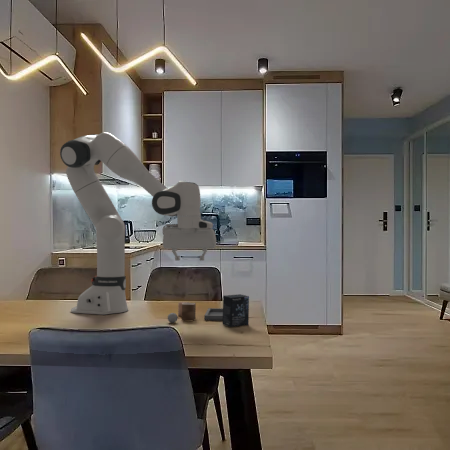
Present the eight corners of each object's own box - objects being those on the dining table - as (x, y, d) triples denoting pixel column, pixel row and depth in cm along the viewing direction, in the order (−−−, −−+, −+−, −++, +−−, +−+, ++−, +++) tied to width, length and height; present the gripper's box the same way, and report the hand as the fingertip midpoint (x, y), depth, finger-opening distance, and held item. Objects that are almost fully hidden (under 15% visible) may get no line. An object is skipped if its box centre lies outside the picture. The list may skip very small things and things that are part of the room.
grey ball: (166, 323, 187) (166, 313, 187) (168, 321, 190) (168, 311, 190) (176, 323, 186) (176, 313, 186) (178, 321, 190) (178, 312, 190)
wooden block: (177, 316, 201) (177, 303, 201) (179, 314, 206) (179, 301, 205) (188, 316, 201) (188, 303, 201) (190, 314, 205) (190, 301, 205)
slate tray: (204, 320, 194) (204, 315, 194) (208, 312, 210) (208, 308, 210) (241, 321, 193) (241, 316, 193) (243, 313, 209) (243, 308, 209)
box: (231, 327, 181) (231, 297, 181) (222, 324, 186) (222, 295, 186) (249, 325, 186) (249, 295, 186) (240, 322, 190) (240, 293, 190)
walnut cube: (181, 320, 193) (182, 304, 193) (183, 318, 197) (183, 302, 197) (193, 320, 193) (194, 304, 193) (195, 318, 197) (195, 302, 197)
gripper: (160, 224, 194) (160, 261, 194) (214, 223, 191) (214, 261, 191) (164, 224, 200) (165, 259, 200) (216, 223, 197) (217, 259, 197)
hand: (189, 260), depth 196 cm, fingers open, 8 cm apart
